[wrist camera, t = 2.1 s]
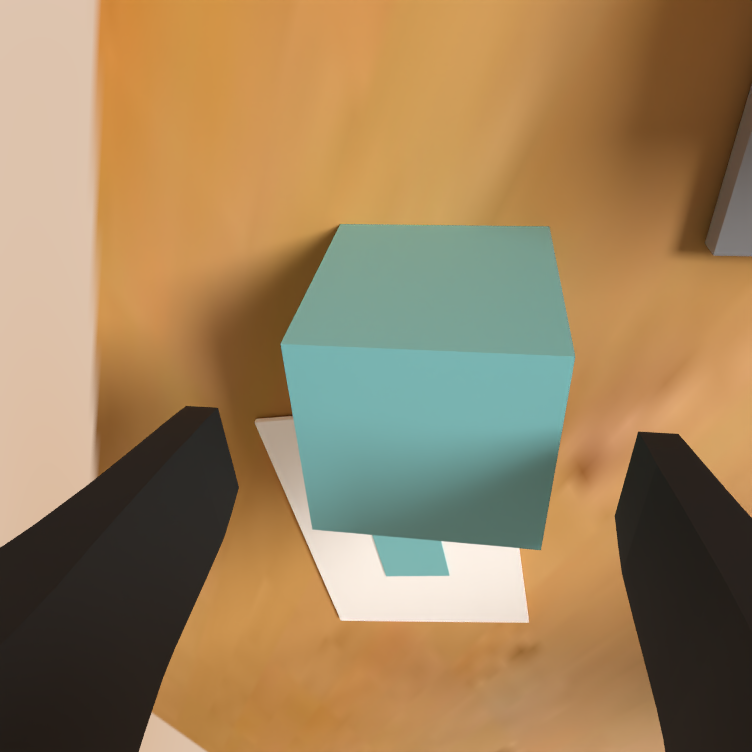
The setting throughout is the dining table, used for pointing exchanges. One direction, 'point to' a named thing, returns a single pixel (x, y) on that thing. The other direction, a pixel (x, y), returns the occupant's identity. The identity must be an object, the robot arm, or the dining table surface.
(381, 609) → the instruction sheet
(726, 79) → the dining table surface
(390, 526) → the teal brick
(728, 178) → the plate
